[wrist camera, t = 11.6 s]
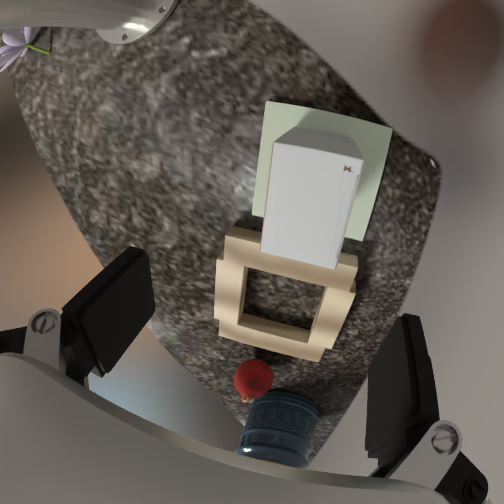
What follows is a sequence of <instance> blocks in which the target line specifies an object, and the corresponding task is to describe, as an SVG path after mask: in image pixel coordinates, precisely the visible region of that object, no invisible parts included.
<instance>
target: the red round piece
mask: <svg viewBox="0 0 504 504" xmlns="http://www.w3.org/2000/svg"><path fill="white" fill-rule="evenodd" d="M272 382H273V373H272V370H271V368H270V366H269V365H268V364H267V363H266V362H265V361H263V360H260V359H251V360H247V361H245V362H243V363H241V364H240V365H239V366H238V368H237V369H236V371H235V374H234V384H235V387H236V389H237V391H238V392H239V393H240V394H241V395H242V397H241V400H242V401H243V402H248V401H249V400H250V399H252V398H257V397H260V396H262V395H264V394H265V393H266V392H267V391H268V390H269V389H270V388H271V385H272Z"/></svg>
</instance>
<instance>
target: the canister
mask: <svg viewBox="0 0 504 504" xmlns="http://www.w3.org/2000/svg"><path fill="white" fill-rule="evenodd" d="M317 422H318V408H317V406H316V405H315V403H314V402H312V401H311V400H309V399H308V398H306V397H304V396H301V395H299V394H295V393H291V392H285V391H270V392H266V393H265V394H264V395H262V396H260V397H257V398H255V400H254V401H253V402H252V404H251V407H250V413H249V416H248V419H247V422H246V424H245V427H244V430H243V432H242V433H241V440H242V441H241V444H240V446H239V447H237V448H236V449H235V453H236V454H239V455H243V456H247V457H250V458H254V459H258V460H262V461H266V462H271V463H275V464H280V465H284V466H289V467H295V468H300V469H306V468H307V467H308V466H309V461H308V460H307V457H308V454H309V453H310V452H311V451H312V449H313V447H312V444H313V439H314V433H315V428H316V424H317Z"/></svg>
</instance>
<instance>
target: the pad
mask: <svg viewBox="0 0 504 504" xmlns="http://www.w3.org/2000/svg"><path fill="white" fill-rule="evenodd" d="M295 126H300V127H306V128H311V129H316V130H321V131H326V132H331V133H335V134H340V135H344V136H348V137H352V138H353V139H354V141H355V143H356V145H357V146H358V148H359V150H360V152H361V154H362V156H363V158H364V160H365V162H364V165H363V169H362V173H361V176H360V180H359V183H358V187H357V191H356V195H355V199H354V203H353V207H352V211H351V214H350V218H349V222H348V226H347V230H346V233H345V237H347V238H351V239H355V240H359V241H363V238H364V235H365V232H366V228H367V225H368V222H369V219H370V216H371V212H372V209H373V205H374V202H375V198H376V195H377V191H378V188H379V184H380V180H381V176H382V173H383V169H384V165H385V161H386V156H387V152H388V148H389V144H390V139H391V134H392V130H393V129H392V128H389V127H386V126H383V125H379V124H376V123H372V122H369V121H365V120H361V119H357V118H353V117H349V116H345V115H341V114H337V113H332V112H328V111H323V110H318V109H313V108H308V107H302V106H297V105H291V104H285V103H278V102H271V101H266V106H265V113H264V121H263V129H262V137H261V144H260V152H259V160H258V168H257V176H256V184H255V192H254V200H253V207H252V215H255V216H259V217H264V212H265V204H266V196H267V187H268V179H269V171H270V163H271V154H272V146H273V142H274V141H275V140H276V139H278V138H279V137H280V136H282V135H283V134H285V133H286V132H287V131H289V130H290V129H292V128H293V127H295Z"/></svg>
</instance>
